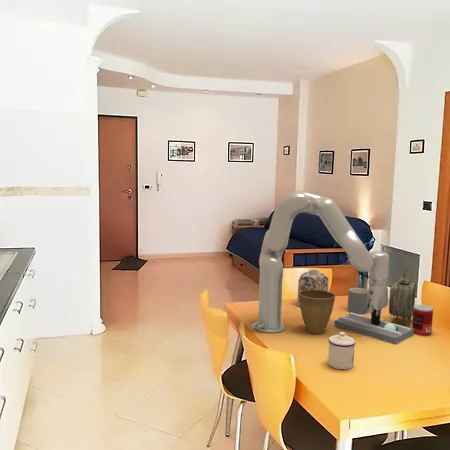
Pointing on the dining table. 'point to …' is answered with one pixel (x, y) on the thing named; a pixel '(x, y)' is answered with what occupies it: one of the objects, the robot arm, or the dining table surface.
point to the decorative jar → (312, 282)
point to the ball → (390, 327)
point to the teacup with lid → (341, 351)
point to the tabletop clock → (402, 298)
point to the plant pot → (316, 309)
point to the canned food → (422, 319)
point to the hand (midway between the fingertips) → (375, 323)
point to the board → (373, 328)
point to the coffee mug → (357, 300)
